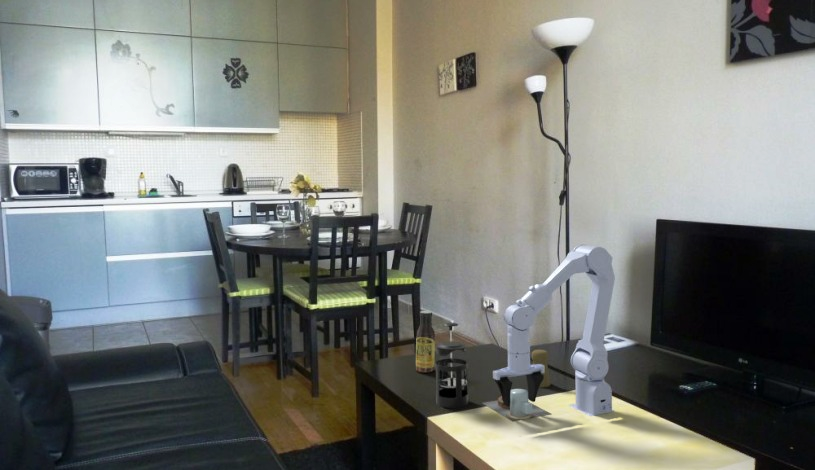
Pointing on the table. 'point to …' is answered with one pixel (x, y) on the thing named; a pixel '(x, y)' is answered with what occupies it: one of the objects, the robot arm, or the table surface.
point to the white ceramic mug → (519, 403)
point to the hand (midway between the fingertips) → (519, 402)
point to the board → (505, 410)
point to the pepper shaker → (542, 358)
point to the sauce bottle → (425, 344)
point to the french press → (451, 387)
